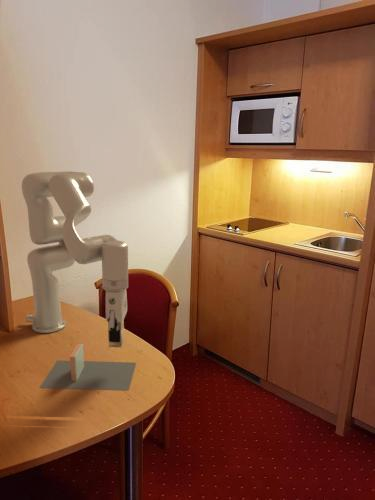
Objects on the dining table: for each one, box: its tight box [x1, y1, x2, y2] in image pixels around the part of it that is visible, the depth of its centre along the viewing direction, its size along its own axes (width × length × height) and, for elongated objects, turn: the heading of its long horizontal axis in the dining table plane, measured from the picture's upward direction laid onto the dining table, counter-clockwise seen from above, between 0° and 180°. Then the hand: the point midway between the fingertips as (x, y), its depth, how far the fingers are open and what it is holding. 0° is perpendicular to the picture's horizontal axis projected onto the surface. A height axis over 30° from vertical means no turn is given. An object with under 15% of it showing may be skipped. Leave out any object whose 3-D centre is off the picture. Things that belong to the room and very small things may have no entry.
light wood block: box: [107, 319, 125, 348], centre depth 123 cm, size 4×4×11 cm
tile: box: [69, 342, 85, 381], centre depth 122 cm, size 2×8×8 cm, turn 178°
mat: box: [39, 359, 137, 391], centre depth 123 cm, size 26×15×1 cm, turn 88°
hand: (116, 337), depth 123 cm, fingers closed on light wood block, 4 cm apart
